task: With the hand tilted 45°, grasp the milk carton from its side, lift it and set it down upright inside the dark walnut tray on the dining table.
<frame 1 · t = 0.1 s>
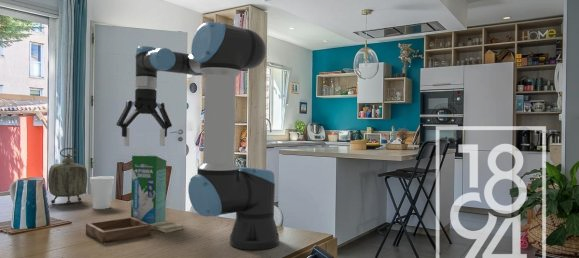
hand: (144, 146, 150), 28 cm above the table, tool pointing down, fingers open, 13 cm apart
foam cup: (101, 208, 173), on the table
beech board: (165, 228, 140), on the table
milk carton: (148, 223, 147), on the table
tabletop clock: (67, 203, 181), on the table
tray: (118, 234, 130), on the table
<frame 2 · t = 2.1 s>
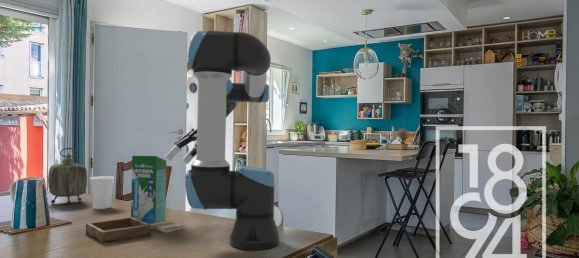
hand: (175, 160, 154), 22 cm above the table, tool tilted 45°, fingers open, 13 cm apart
nothing on the table moved.
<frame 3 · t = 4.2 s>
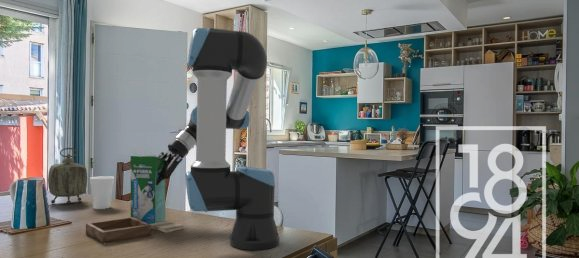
hand: (140, 189, 146), 13 cm above the table, tool tilted 45°, fingers open, 10 cm apart
milk carton: (148, 222, 147), on the table, touching gripper
everything else where it was.
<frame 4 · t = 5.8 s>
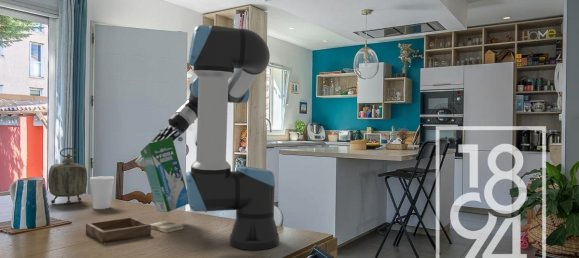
hand: (139, 164, 145), 22 cm above the table, tool tilted 45°, fingers open, 2 cm apart
milk carton: (173, 207, 146), point 6 cm above the table, touching hand
everything else where it was.
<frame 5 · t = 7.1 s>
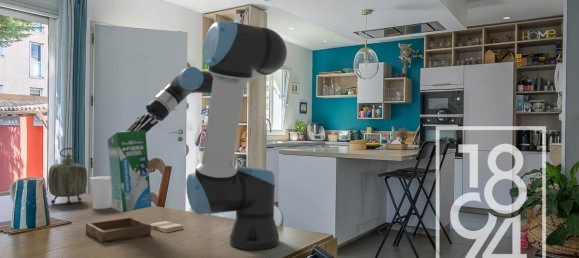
hand: (112, 154, 131), 26 cm above the table, tool tilted 45°
milk carton: (132, 208, 130), point 9 cm above the table, touching gripper, hand
everything else where it was.
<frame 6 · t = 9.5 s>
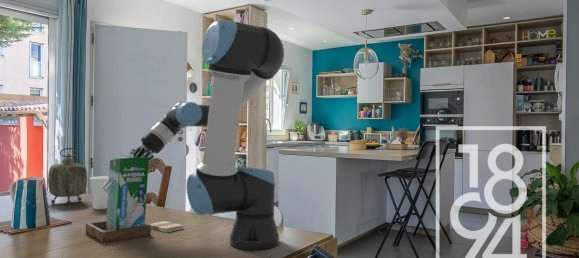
hand: (106, 190, 128), 15 cm above the table, tool tilted 45°, fingers open, 2 cm apart
milk carton: (124, 231, 130), point 1 cm above the table, touching gripper, tray
everything else where it was.
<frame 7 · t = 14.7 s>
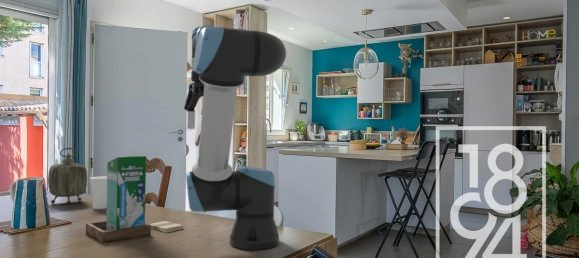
hand: (200, 129, 147), 35 cm above the table, tool pointing down, fingers open, 13 cm apart
milk carton: (125, 233, 130), point 1 cm above the table, touching tray
everything else where it was.
at the end: milk carton inside the target area on the tray (2.4 cm from its centre), point 0.6 cm above the tray's base; milk carton tilted 0°; the gripper is holding nothing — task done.
